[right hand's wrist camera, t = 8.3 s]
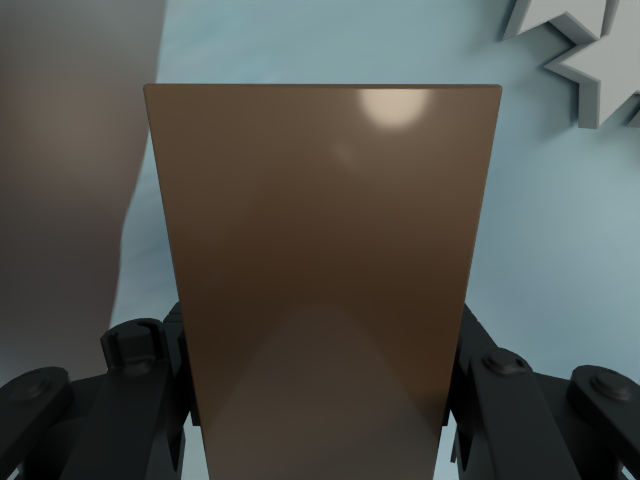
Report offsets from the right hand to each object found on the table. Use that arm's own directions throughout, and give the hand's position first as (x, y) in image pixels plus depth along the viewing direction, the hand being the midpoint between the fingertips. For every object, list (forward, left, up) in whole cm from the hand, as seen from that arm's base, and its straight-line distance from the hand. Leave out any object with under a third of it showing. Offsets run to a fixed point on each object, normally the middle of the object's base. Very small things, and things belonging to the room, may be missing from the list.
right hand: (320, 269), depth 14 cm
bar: (+27, +20, -1) cm, 34 cm away
